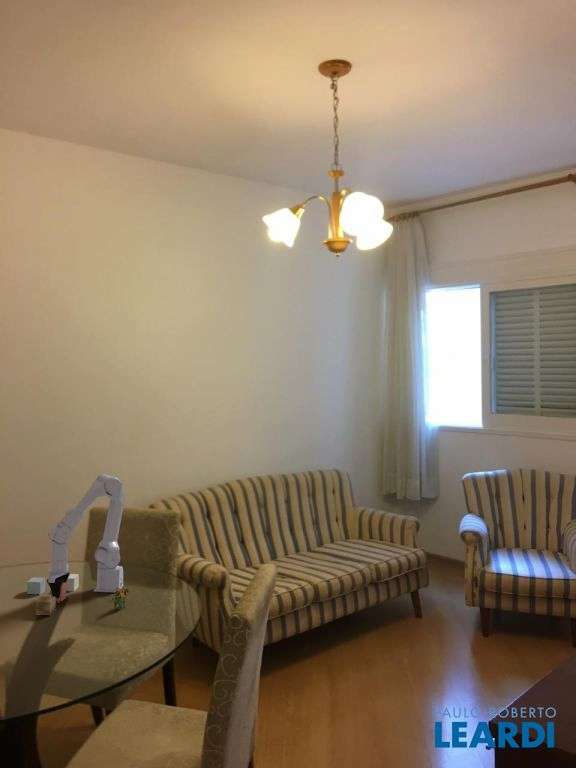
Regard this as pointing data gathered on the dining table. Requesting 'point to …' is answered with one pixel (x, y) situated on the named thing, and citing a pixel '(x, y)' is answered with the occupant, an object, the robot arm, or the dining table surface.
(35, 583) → the blue-grey block
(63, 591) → the brick-red block
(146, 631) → the dining table surface
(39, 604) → the walnut block
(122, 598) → the figurine
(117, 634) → the dining table surface
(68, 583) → the pale grey block
